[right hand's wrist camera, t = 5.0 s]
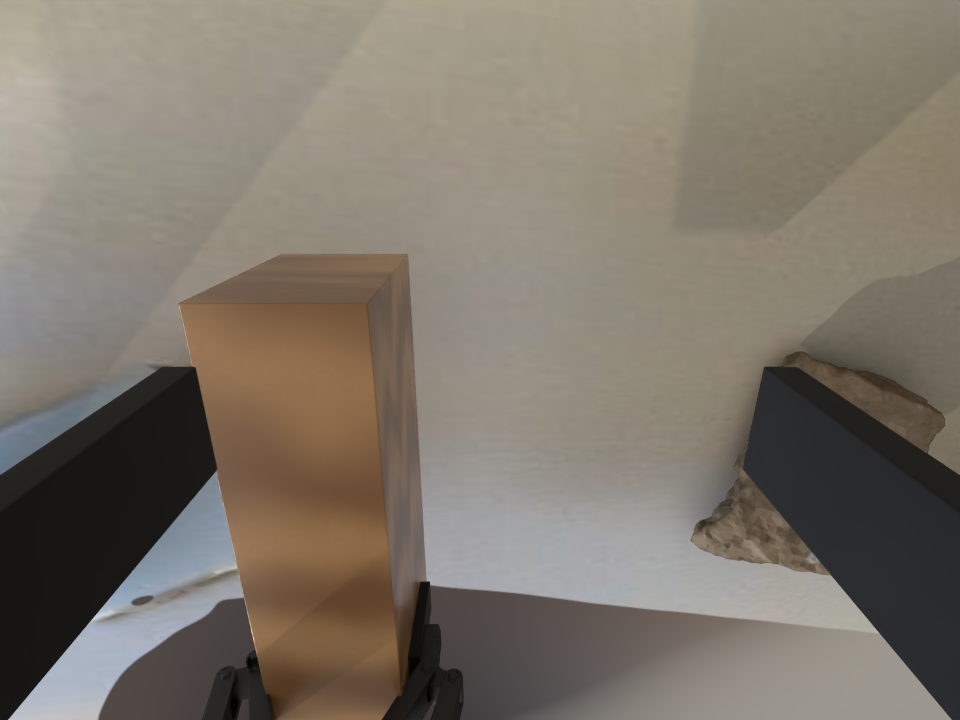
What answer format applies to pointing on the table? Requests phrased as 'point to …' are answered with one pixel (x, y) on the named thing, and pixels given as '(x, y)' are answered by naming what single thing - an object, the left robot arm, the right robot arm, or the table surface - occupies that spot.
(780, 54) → the table surface
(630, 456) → the table surface
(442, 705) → the left robot arm
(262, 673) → the box
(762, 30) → the table surface
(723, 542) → the stone
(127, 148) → the table surface
